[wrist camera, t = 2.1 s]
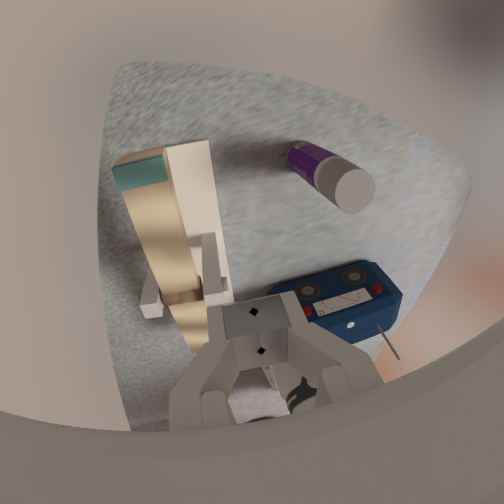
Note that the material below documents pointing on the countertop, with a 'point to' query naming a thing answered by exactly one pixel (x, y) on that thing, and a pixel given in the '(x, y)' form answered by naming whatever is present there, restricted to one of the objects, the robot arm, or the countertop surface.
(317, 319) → the radio
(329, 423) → the robot arm
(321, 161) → the container
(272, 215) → the countertop surface
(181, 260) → the beam
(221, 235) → the stand
